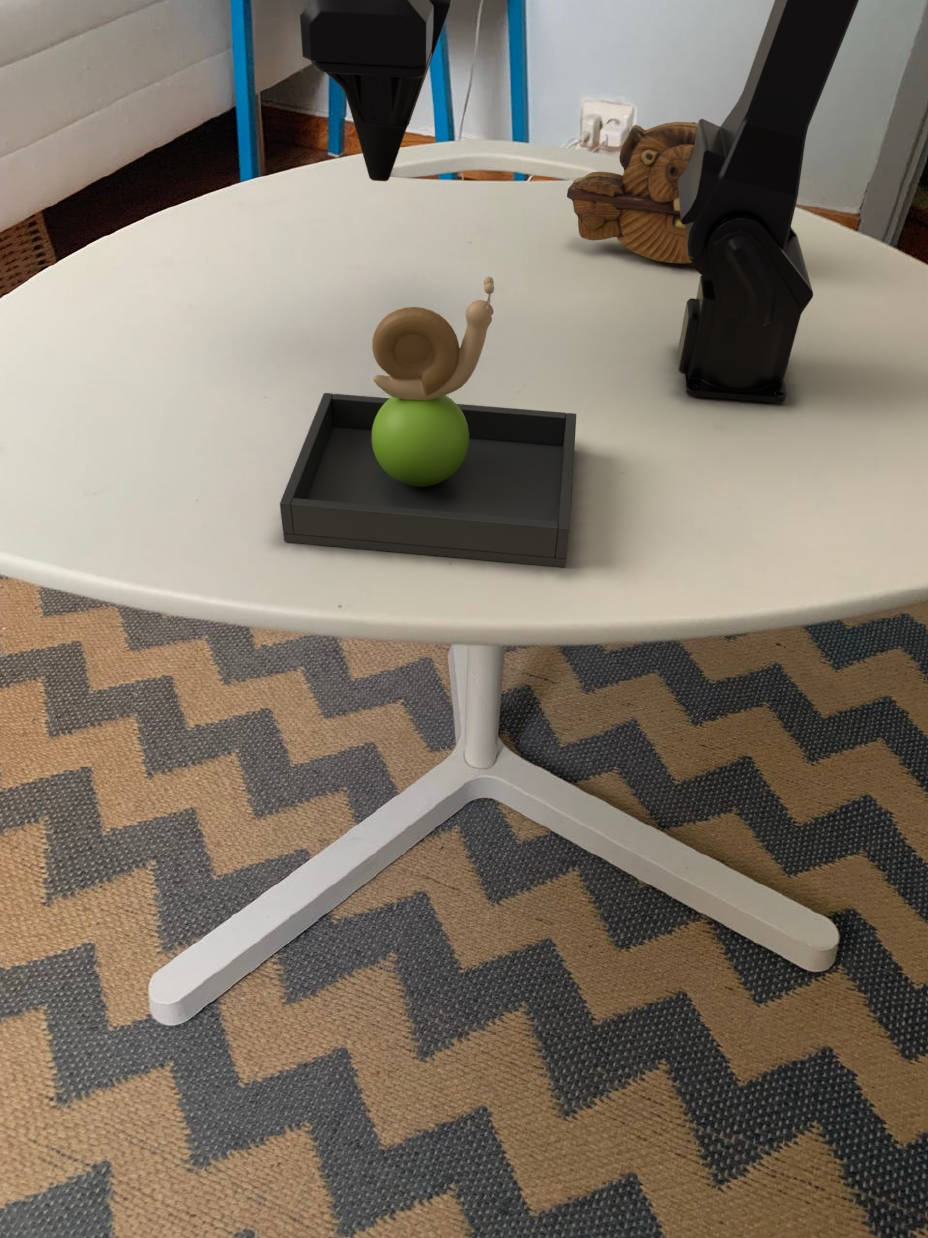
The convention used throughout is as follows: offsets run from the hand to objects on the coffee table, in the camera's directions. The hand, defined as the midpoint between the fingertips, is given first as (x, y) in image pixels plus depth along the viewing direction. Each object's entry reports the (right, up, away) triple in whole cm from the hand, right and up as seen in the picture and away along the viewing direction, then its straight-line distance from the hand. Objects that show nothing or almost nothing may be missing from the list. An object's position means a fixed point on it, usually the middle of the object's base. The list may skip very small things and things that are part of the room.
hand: (390, 151), depth 63 cm
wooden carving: (+20, 0, +21) cm, 29 cm away
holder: (+3, -21, -3) cm, 21 cm away
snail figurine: (+2, -20, -3) cm, 21 cm away
